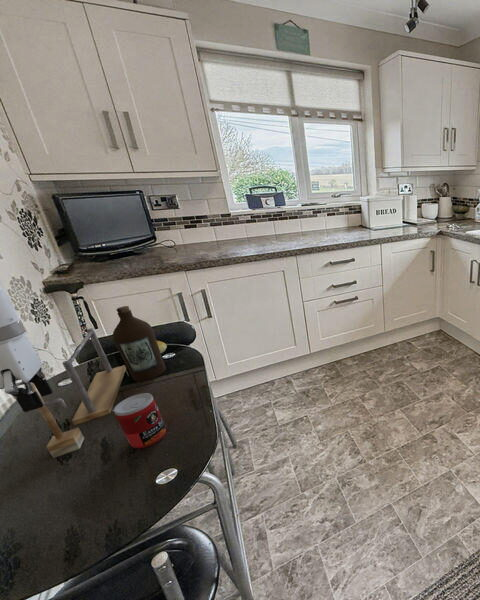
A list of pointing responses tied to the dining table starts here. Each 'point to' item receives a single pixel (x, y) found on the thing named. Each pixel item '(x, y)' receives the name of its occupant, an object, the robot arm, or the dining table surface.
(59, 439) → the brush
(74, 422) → the rack
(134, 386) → the dining table surface
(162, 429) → the canned food
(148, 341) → the olive oil
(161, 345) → the bread roll
